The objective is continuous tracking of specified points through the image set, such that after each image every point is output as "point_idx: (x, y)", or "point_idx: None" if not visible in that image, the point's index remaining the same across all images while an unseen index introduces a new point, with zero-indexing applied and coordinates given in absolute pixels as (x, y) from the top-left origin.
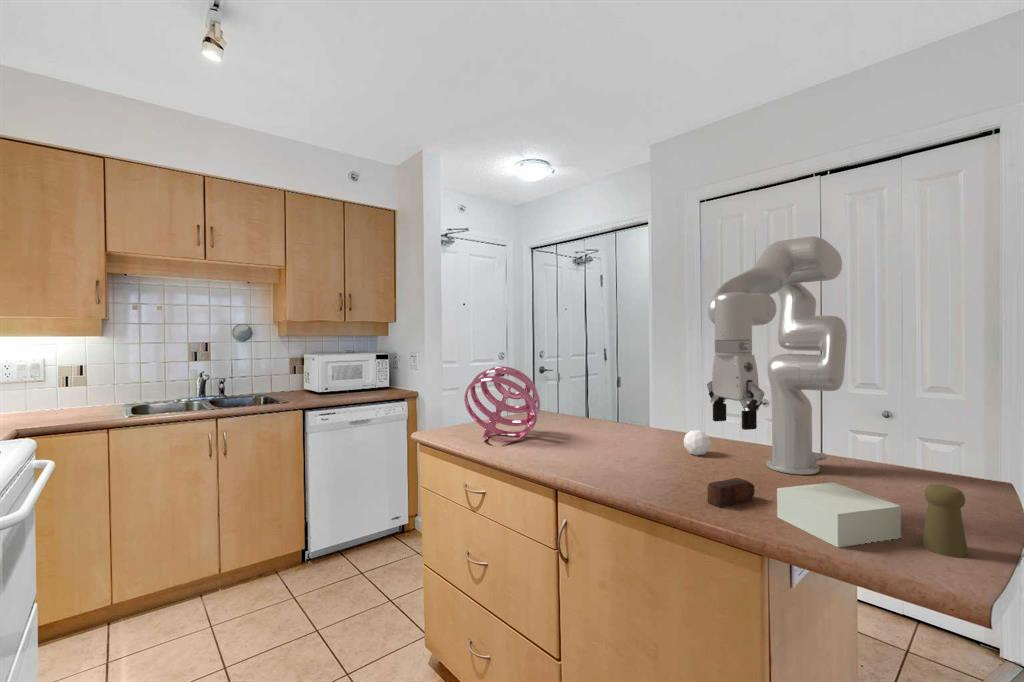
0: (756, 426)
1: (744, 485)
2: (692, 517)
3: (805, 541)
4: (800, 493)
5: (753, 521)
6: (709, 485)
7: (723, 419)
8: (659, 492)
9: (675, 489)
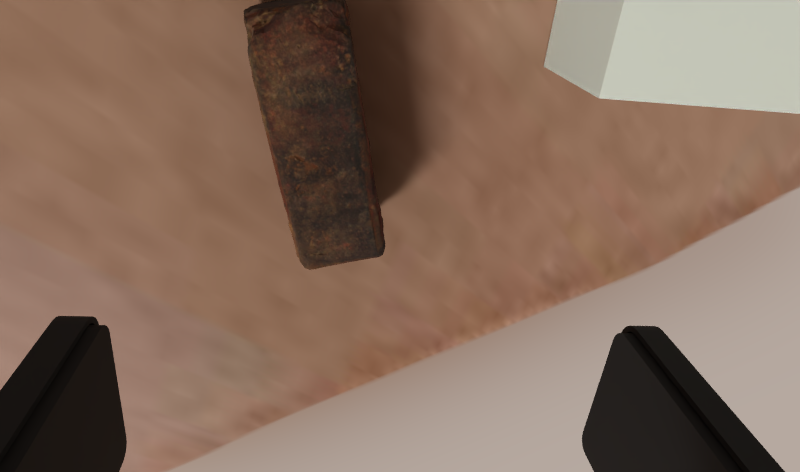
0: (666, 337)
1: (359, 89)
2: (409, 352)
3: (723, 149)
4: (711, 46)
5: (527, 189)
6: (314, 267)
7: (107, 365)
8: (129, 333)
9: (100, 254)
